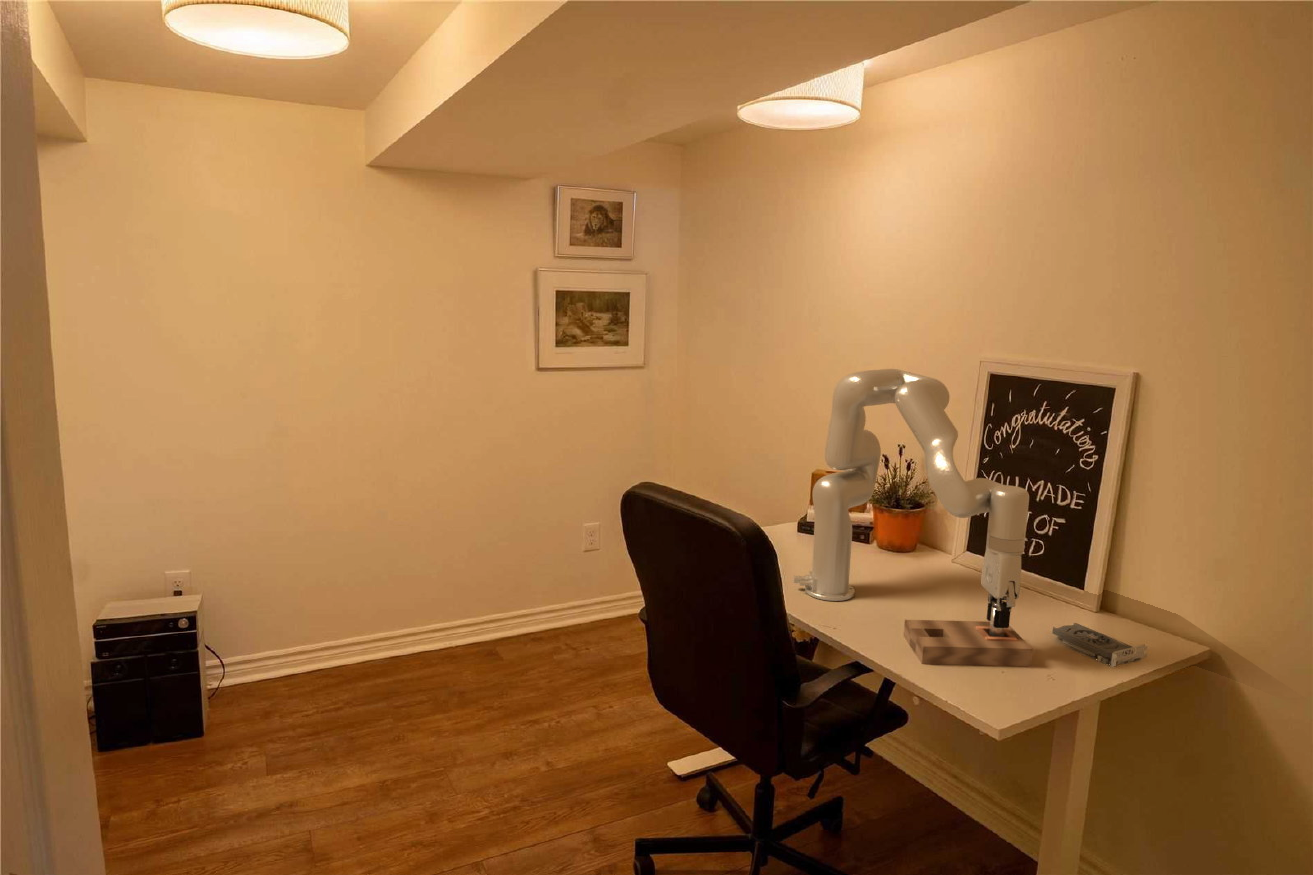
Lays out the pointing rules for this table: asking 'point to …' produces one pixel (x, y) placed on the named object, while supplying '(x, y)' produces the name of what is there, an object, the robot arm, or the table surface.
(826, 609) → the table surface
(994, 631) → the lock pin
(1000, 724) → the table surface
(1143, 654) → the graphics card
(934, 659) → the pin board
